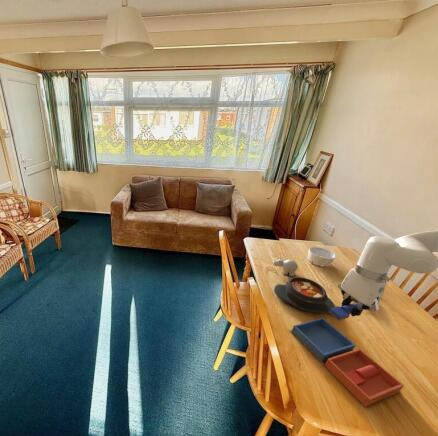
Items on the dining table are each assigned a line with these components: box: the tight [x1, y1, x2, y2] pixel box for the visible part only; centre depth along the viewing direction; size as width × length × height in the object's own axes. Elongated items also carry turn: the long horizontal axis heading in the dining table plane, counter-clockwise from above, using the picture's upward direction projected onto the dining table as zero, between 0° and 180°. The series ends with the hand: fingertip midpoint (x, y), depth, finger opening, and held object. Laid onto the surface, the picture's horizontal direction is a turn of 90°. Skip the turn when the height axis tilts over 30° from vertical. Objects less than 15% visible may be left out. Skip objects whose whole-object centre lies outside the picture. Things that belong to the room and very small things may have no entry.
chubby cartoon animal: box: [273, 257, 299, 278], centre depth 129 cm, size 7×12×8 cm, turn 51°
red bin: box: [324, 348, 405, 407], centre depth 77 cm, size 13×15×4 cm
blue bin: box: [291, 317, 356, 363], centre depth 90 cm, size 13×15×4 cm
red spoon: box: [344, 365, 379, 386], centre depth 77 cm, size 11×4×3 cm, turn 105°
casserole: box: [273, 276, 336, 314], centre depth 109 cm, size 25×19×8 cm
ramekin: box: [307, 246, 337, 268], centre depth 139 cm, size 13×13×7 cm
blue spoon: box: [329, 302, 358, 321], centre depth 84 cm, size 11×4×3 cm, turn 105°
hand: (349, 311), depth 85 cm, fingers closed on blue spoon, 3 cm apart
